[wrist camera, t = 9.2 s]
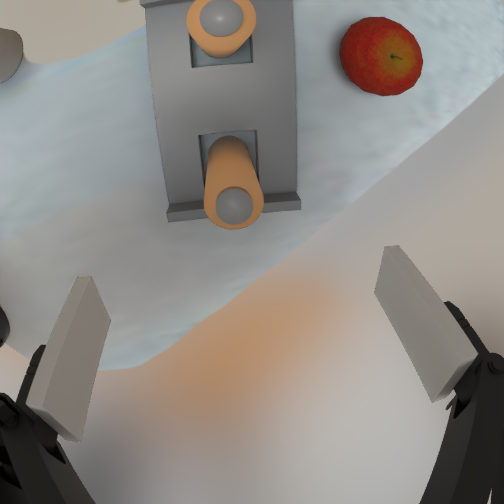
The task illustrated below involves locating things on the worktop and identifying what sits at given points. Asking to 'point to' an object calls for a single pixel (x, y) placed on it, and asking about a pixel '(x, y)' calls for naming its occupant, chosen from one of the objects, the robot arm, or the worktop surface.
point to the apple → (381, 56)
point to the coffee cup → (9, 53)
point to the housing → (223, 94)
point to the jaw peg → (231, 185)
